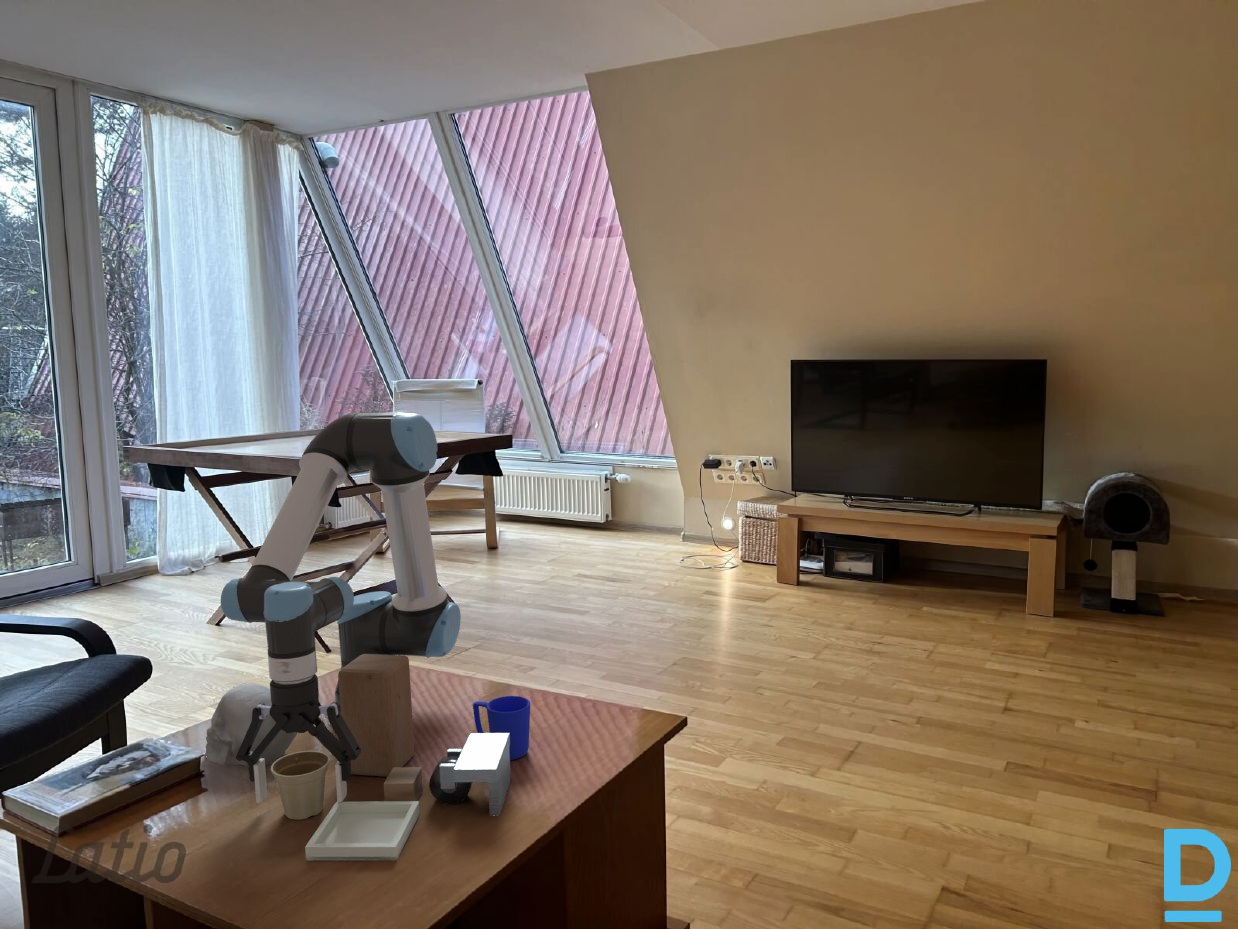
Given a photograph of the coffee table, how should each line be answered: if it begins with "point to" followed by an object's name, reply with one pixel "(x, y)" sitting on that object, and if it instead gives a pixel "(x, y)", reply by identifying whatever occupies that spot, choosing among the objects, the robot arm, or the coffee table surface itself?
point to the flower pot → (301, 782)
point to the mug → (508, 721)
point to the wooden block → (378, 711)
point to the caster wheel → (474, 770)
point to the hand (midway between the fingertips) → (302, 799)
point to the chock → (403, 784)
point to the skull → (242, 726)
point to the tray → (363, 831)
